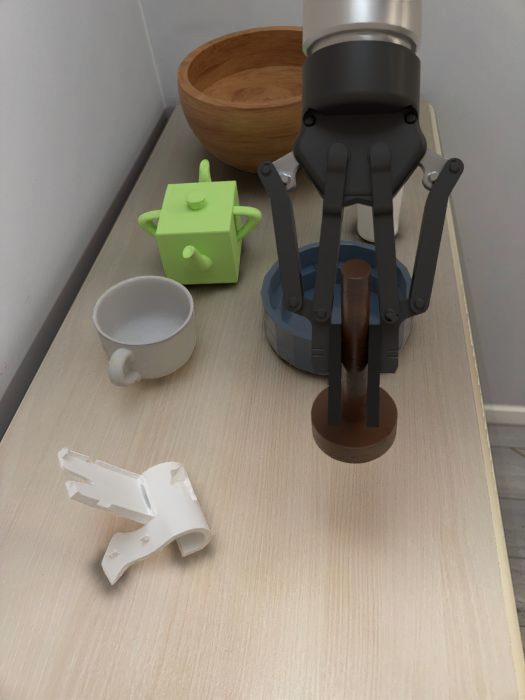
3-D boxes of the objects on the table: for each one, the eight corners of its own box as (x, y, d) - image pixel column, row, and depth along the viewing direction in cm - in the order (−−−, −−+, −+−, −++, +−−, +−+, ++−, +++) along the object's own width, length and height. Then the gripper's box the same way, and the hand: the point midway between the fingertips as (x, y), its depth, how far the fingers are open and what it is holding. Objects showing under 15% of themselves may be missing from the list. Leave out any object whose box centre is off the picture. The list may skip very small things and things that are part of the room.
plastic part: (214, 544, 61) (194, 477, 53) (108, 589, 59) (70, 526, 51) (188, 479, 66) (166, 407, 58) (90, 518, 64) (52, 450, 56)
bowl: (222, 114, 115) (209, 23, 103) (369, 122, 108) (371, 26, 97) (170, 201, 99) (147, 104, 88) (338, 216, 93) (337, 114, 81)
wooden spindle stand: (408, 410, 52) (426, 248, 40) (378, 476, 48) (388, 318, 37) (331, 385, 54) (327, 225, 43) (297, 446, 51) (283, 289, 39)
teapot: (214, 217, 95) (203, 149, 87) (285, 254, 88) (279, 184, 80) (131, 273, 88) (110, 205, 80) (199, 318, 81) (184, 249, 74)
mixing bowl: (429, 298, 80) (434, 259, 76) (378, 399, 71) (380, 362, 66) (303, 265, 86) (300, 227, 82) (240, 354, 77) (234, 316, 72)
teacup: (143, 314, 83) (127, 264, 77) (220, 336, 79) (210, 286, 73) (76, 396, 75) (53, 348, 69) (158, 426, 71) (141, 377, 65)
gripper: (470, 74, 46) (461, 418, 47) (255, 82, 48) (250, 411, 49) (492, 27, 38) (480, 437, 40) (236, 39, 41) (231, 428, 42)
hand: (353, 422), depth 44 cm, fingers closed on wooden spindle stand, 2 cm apart
